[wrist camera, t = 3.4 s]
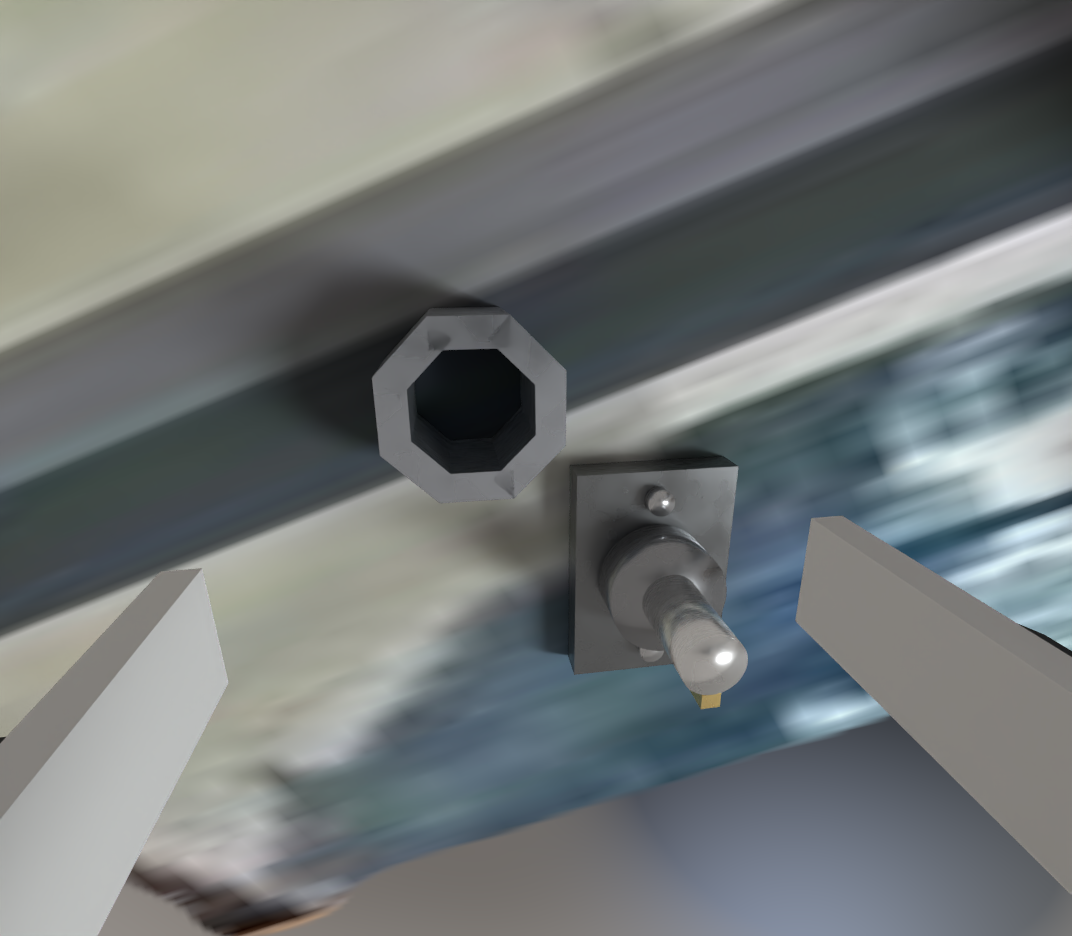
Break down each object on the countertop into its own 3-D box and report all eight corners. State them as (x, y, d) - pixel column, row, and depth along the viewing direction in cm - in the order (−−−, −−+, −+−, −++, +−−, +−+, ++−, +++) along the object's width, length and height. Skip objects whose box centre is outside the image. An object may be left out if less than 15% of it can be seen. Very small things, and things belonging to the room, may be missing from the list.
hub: (380, 308, 31) (365, 317, 25) (545, 305, 32) (566, 313, 27) (395, 467, 34) (385, 506, 28) (546, 458, 35) (565, 494, 29)
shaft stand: (570, 465, 35) (621, 545, 25) (723, 456, 37) (831, 528, 27) (568, 655, 40) (610, 789, 30) (704, 641, 41) (790, 764, 31)
